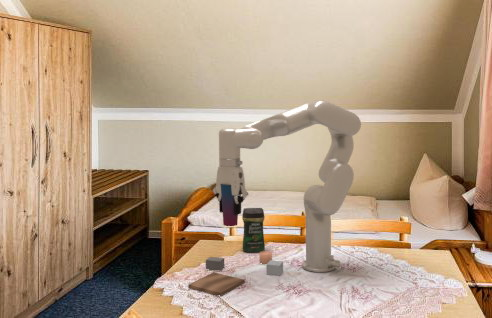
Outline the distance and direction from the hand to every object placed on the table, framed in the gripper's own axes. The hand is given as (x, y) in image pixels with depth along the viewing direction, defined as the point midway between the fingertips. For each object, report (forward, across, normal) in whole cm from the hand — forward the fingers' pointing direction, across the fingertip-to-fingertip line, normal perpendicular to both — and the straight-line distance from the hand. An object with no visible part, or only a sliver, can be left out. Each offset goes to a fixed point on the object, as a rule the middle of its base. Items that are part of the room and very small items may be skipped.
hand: (230, 212), depth 169 cm
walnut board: (+24, -1, +9) cm, 26 cm away
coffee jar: (+24, +11, -31) cm, 41 cm away
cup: (+5, 0, 0) cm, 5 cm away
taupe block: (+24, +11, -4) cm, 27 cm away
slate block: (+24, -11, -12) cm, 29 cm away
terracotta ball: (+24, -2, -20) cm, 31 cm away
